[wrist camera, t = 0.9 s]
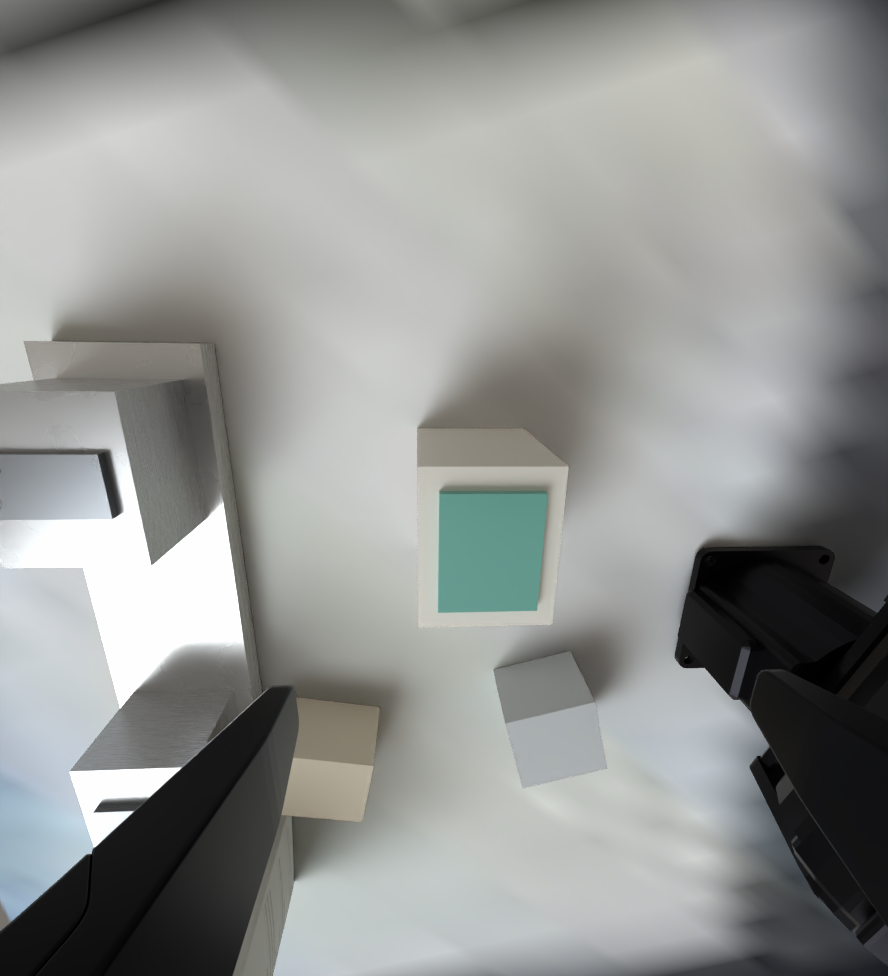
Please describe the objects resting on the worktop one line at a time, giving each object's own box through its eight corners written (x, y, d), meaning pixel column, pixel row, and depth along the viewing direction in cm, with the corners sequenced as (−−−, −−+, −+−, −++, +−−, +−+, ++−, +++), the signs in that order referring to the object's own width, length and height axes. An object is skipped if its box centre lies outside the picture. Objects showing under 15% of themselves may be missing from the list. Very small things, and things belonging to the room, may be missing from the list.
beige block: (379, 705, 23) (373, 766, 20) (369, 756, 24) (362, 822, 21) (281, 693, 23) (258, 753, 20) (275, 746, 24) (252, 812, 21)
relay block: (569, 649, 23) (595, 702, 20) (581, 709, 24) (606, 768, 21) (492, 668, 23) (505, 723, 20) (508, 726, 24) (522, 788, 21)
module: (523, 428, 19) (572, 469, 13) (515, 546, 21) (554, 630, 15) (417, 427, 19) (417, 469, 13) (417, 547, 21) (417, 633, 15)
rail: (214, 343, 17) (126, 345, 12) (273, 774, 24) (234, 894, 19) (49, 340, 17) (-113, 342, 12) (157, 778, 24) (85, 902, 19)
